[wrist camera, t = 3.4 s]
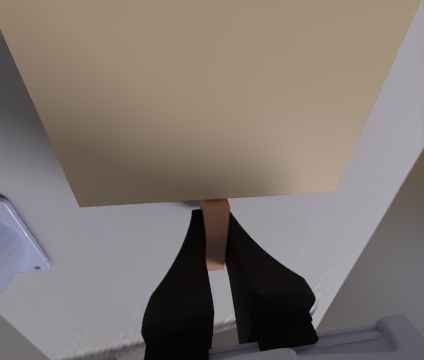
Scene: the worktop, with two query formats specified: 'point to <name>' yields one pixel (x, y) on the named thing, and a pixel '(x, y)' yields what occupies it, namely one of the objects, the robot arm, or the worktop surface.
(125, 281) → the worktop surface
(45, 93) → the sleeve
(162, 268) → the worktop surface
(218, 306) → the worktop surface
